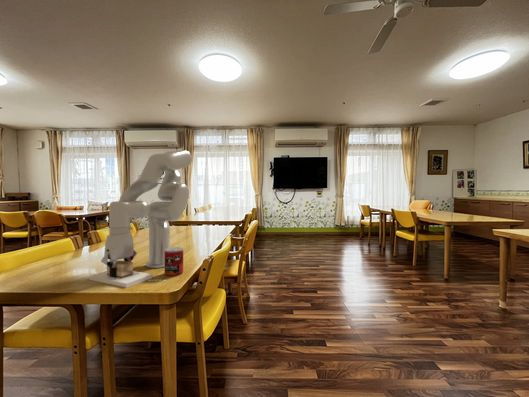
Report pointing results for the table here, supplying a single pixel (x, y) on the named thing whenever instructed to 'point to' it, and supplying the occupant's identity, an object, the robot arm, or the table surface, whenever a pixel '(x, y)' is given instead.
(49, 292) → the table surface
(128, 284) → the board
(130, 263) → the block
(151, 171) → the robot arm
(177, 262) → the canned food
